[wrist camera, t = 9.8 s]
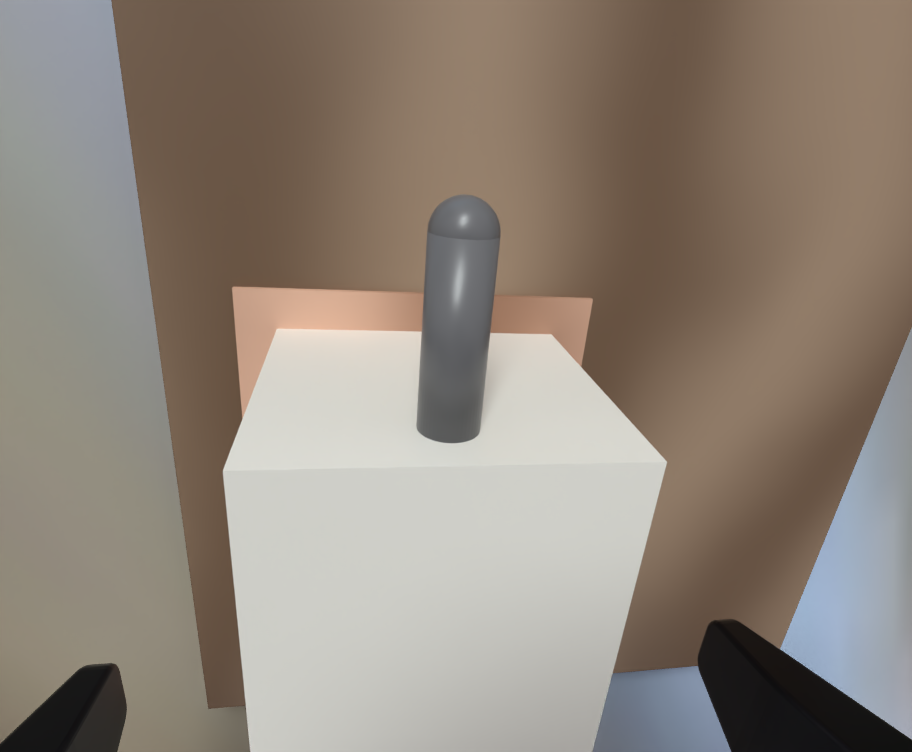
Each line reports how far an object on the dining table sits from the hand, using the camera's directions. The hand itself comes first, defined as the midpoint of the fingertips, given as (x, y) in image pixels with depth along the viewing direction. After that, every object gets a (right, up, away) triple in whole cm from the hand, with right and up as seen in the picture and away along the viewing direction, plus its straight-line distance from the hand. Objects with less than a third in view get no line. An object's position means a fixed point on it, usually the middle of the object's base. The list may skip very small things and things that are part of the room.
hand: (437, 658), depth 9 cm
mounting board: (+2, +5, +3) cm, 6 cm away
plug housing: (-1, +3, +3) cm, 4 cm away
